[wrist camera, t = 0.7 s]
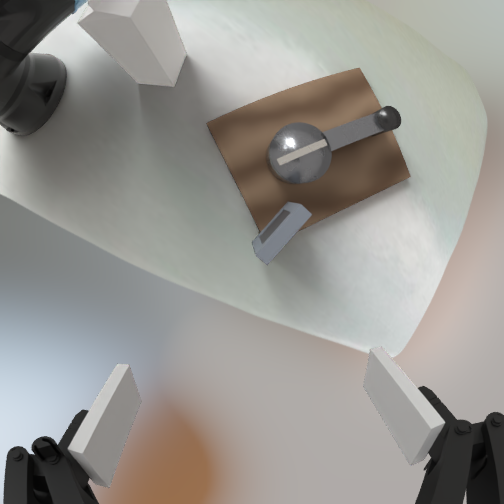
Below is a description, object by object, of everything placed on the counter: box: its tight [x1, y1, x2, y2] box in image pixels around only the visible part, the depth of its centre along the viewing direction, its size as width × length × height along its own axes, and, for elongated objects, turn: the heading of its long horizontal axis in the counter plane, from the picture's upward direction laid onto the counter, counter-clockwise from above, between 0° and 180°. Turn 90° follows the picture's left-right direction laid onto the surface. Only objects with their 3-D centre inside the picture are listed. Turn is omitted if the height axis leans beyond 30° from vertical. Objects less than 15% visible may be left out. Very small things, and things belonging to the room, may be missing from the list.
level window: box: [252, 202, 312, 265], centre depth 32 cm, size 3×7×8 cm, turn 139°
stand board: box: [206, 68, 411, 232], centre depth 35 cm, size 18×24×2 cm
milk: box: [78, 0, 187, 87], centre depth 21 cm, size 6×6×22 cm
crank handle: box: [266, 106, 401, 184], centre depth 31 cm, size 18×7×6 cm, turn 116°
